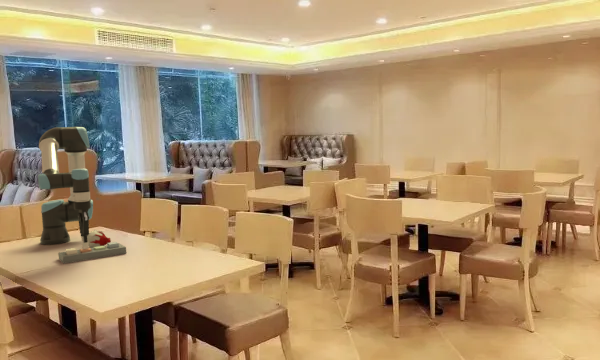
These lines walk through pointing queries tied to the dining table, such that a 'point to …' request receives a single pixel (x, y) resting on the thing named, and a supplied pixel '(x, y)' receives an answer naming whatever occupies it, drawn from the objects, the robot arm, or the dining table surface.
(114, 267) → the dining table surface
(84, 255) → the keypad
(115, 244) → the key greyblue
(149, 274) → the dining table surface
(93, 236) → the candle
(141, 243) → the dining table surface
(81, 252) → the key terracotta
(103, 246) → the key sage
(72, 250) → the key ivory
